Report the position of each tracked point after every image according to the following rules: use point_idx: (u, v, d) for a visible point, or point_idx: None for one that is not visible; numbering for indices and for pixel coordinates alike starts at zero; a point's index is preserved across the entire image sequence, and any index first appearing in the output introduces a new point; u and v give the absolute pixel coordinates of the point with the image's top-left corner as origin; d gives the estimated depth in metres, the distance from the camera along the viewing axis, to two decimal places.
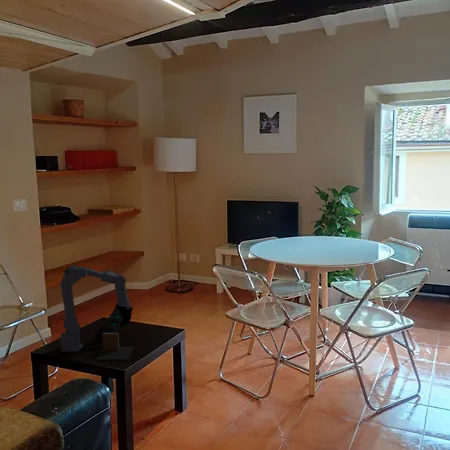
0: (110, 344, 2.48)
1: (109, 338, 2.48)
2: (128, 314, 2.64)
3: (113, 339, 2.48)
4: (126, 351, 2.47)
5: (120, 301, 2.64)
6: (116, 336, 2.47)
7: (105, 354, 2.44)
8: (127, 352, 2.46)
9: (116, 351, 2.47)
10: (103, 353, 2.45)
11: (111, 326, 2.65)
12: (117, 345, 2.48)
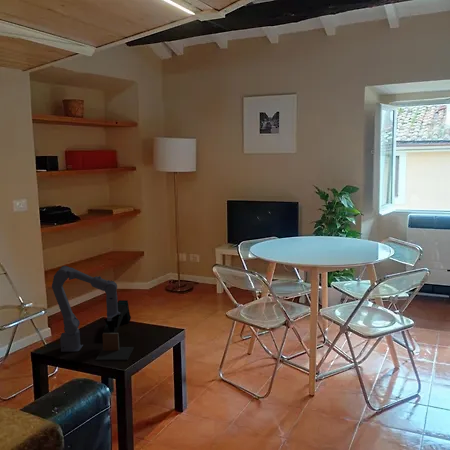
0: (110, 344, 2.48)
1: (109, 338, 2.48)
2: (111, 326, 2.50)
3: (113, 339, 2.48)
4: (126, 351, 2.47)
5: (107, 310, 2.51)
6: (116, 336, 2.47)
7: (105, 354, 2.44)
8: (127, 352, 2.46)
9: (116, 351, 2.47)
10: (103, 353, 2.45)
11: None
12: (117, 345, 2.48)
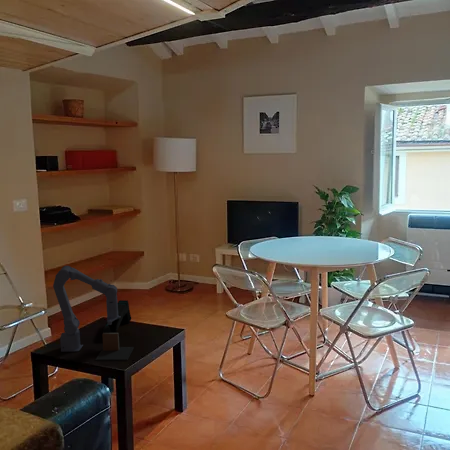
0: (110, 344, 2.48)
1: (109, 338, 2.48)
2: (113, 327, 2.53)
3: (113, 339, 2.48)
4: (126, 351, 2.47)
5: (107, 314, 2.51)
6: (116, 336, 2.47)
7: (105, 354, 2.44)
8: (127, 352, 2.46)
9: (116, 351, 2.47)
10: (103, 353, 2.45)
11: None
12: (117, 345, 2.48)
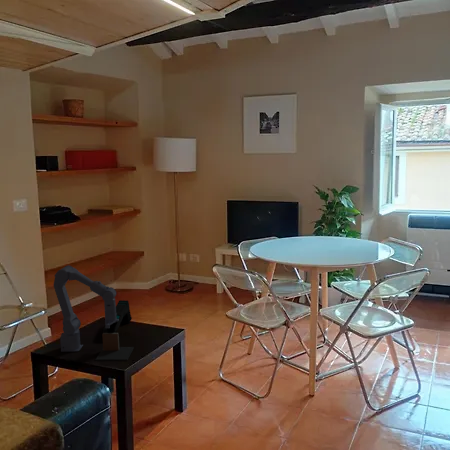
0: (110, 344, 2.48)
1: (109, 338, 2.48)
2: (111, 331, 2.49)
3: (113, 339, 2.48)
4: (126, 351, 2.47)
5: (105, 317, 2.47)
6: (116, 336, 2.47)
7: (105, 354, 2.44)
8: (127, 352, 2.46)
9: (116, 351, 2.47)
10: (103, 353, 2.45)
11: None
12: (117, 345, 2.48)
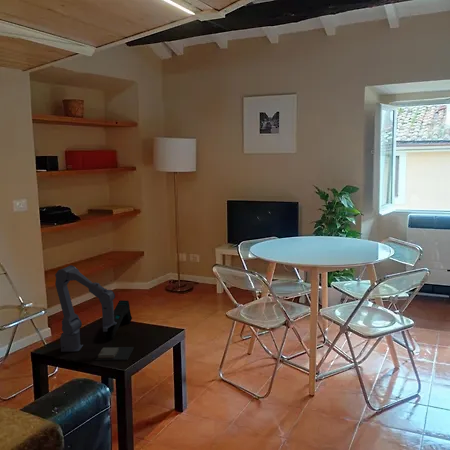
0: None
1: None
2: (108, 334, 2.45)
3: None
4: (126, 351, 2.47)
5: (103, 320, 2.43)
6: None
7: None
8: (127, 352, 2.46)
9: None
10: None
11: None
12: None
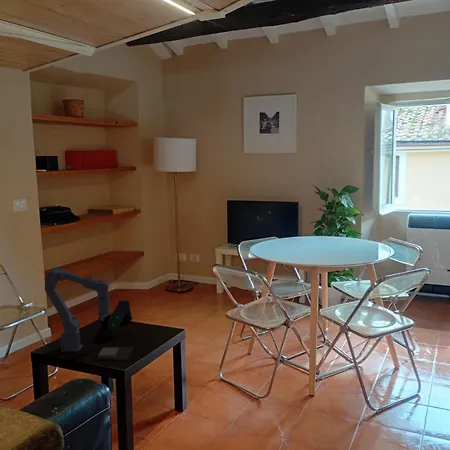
0: None
1: None
2: (104, 323, 2.52)
3: None
4: (126, 351, 2.47)
5: (99, 310, 2.49)
6: None
7: None
8: (127, 352, 2.46)
9: None
10: None
11: (110, 326, 2.64)
12: None
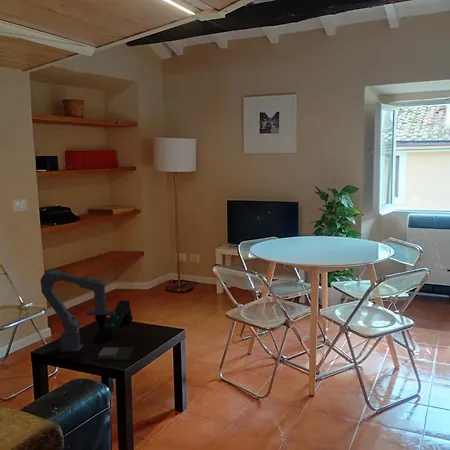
0: None
1: None
2: (103, 322, 2.53)
3: None
4: (126, 351, 2.47)
5: (102, 309, 2.49)
6: None
7: None
8: (127, 352, 2.46)
9: None
10: None
11: (110, 326, 2.64)
12: None
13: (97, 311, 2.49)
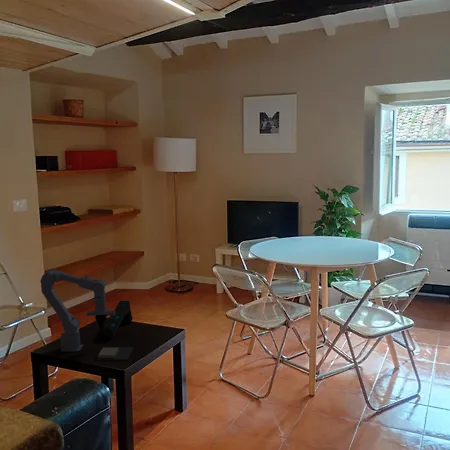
0: None
1: None
2: (103, 322, 2.53)
3: None
4: (126, 351, 2.47)
5: (102, 309, 2.49)
6: None
7: None
8: (127, 352, 2.46)
9: None
10: None
11: (110, 327, 2.64)
12: None
13: (97, 311, 2.49)
